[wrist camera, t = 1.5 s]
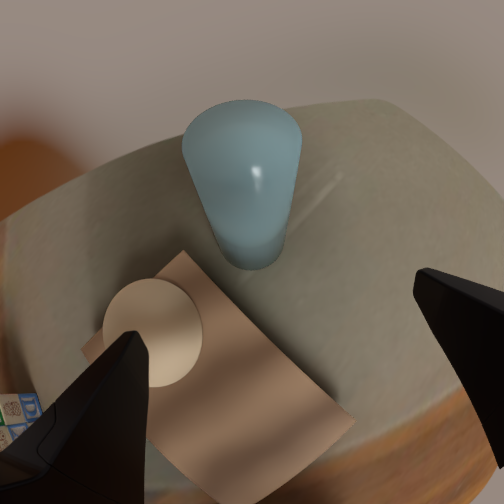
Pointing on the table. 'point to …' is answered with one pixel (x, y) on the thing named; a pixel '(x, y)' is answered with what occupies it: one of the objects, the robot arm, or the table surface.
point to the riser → (219, 387)
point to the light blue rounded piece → (245, 176)
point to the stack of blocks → (17, 415)
